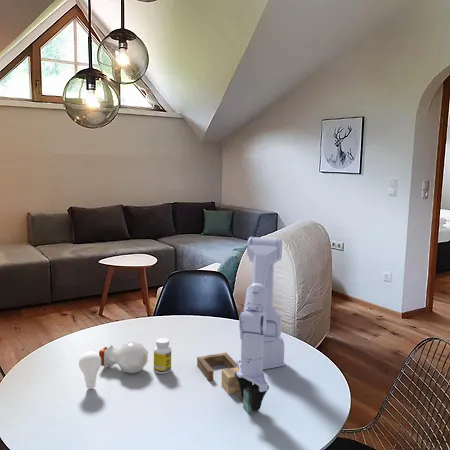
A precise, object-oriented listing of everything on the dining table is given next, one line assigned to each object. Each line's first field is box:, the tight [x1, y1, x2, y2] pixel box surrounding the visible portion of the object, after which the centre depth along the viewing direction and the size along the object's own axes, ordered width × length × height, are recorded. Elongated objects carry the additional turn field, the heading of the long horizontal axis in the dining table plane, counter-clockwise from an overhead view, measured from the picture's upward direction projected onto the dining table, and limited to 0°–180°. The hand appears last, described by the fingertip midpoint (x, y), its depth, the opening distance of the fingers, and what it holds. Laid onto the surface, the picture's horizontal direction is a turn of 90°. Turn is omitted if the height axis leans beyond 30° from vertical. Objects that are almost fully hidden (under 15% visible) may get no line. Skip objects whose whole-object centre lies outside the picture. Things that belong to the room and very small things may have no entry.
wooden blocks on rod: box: [221, 367, 259, 414], centre depth 126 cm, size 5×16×6 cm, turn 22°
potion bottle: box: [98, 341, 149, 375], centre depth 141 cm, size 9×10×15 cm
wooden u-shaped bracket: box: [196, 352, 237, 382], centre depth 142 cm, size 10×10×3 cm
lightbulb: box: [78, 351, 102, 390], centre depth 129 cm, size 6×6×11 cm
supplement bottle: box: [153, 337, 172, 375], centre depth 141 cm, size 5×5×10 cm
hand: (250, 404), depth 120 cm, fingers open, 5 cm apart
